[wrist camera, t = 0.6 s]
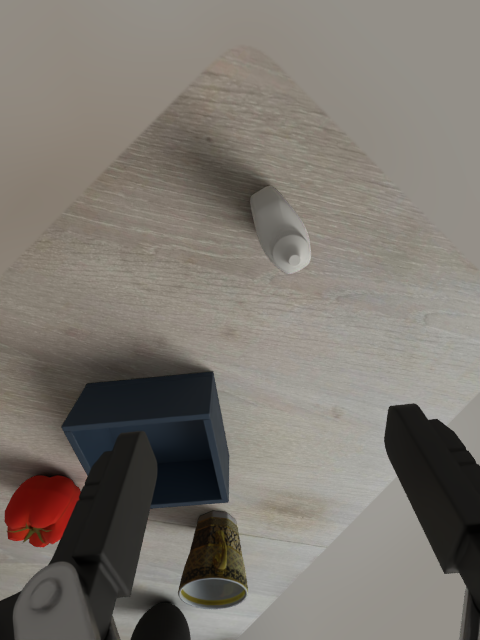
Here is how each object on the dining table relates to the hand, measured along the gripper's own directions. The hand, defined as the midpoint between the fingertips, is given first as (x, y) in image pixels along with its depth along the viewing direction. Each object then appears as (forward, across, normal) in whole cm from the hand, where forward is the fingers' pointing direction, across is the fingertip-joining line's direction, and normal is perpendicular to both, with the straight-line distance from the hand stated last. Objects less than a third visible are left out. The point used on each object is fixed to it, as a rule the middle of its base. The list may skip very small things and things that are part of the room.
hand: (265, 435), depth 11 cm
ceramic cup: (+23, +10, +46) cm, 52 cm away
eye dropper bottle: (+23, -3, -2) cm, 24 cm away
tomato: (+23, +33, +34) cm, 52 cm away
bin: (+23, +14, +23) cm, 35 cm away
